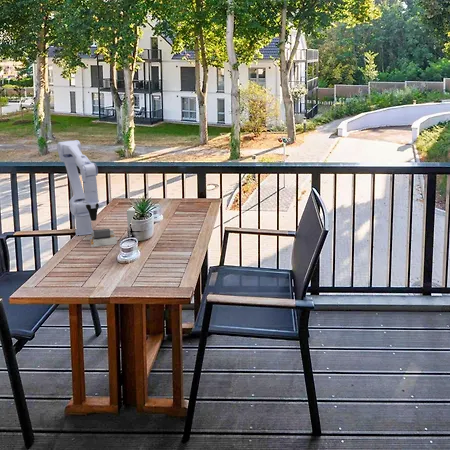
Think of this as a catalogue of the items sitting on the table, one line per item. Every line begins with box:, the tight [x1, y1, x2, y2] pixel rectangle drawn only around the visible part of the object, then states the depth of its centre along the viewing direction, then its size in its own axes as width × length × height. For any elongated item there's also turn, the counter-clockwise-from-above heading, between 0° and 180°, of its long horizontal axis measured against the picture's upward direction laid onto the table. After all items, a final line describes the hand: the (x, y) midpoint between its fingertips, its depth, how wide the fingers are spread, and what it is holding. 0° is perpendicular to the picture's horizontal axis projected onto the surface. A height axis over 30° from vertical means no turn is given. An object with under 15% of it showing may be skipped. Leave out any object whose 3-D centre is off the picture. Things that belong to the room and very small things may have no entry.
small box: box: [126, 205, 135, 228], centre depth 303 cm, size 8×6×10 cm
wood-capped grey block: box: [93, 228, 111, 239], centre depth 285 cm, size 3×7×5 cm, turn 106°
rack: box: [88, 229, 118, 248], centre depth 288 cm, size 13×11×3 cm
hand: (93, 220), depth 288 cm, fingers closed
